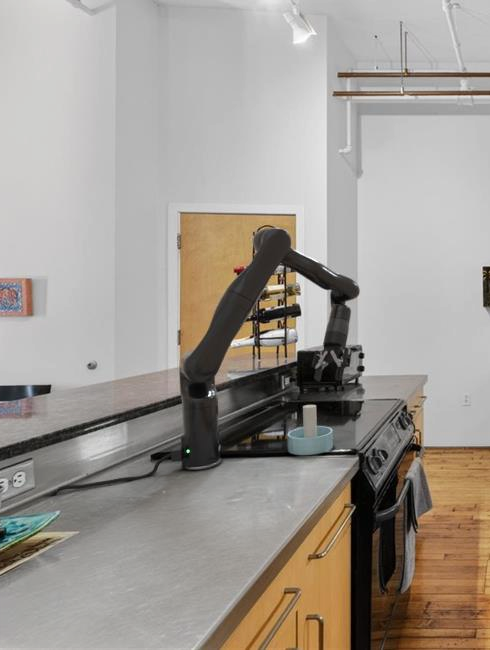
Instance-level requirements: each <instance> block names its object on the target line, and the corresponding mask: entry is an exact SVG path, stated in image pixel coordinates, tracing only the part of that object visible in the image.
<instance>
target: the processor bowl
mask: <svg viewBox="0 0 490 650" xmlns="http://www.w3.org/2000/svg"><path fill="white" fill-rule="evenodd" d="M333 431H334V429H333V428H331V427H330V426H329V427H328V426H323V425H317V437H314V438H304V427H298V428H295V429H292V430H290V431H289V432H287V435H286V439H287V452H288V453H289V454H292V455H294V456H295V455H296V456H313V455H319V454H323V453H326V452H328V451H330V450H332V449H333V447H334V432H333Z"/></svg>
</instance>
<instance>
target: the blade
mask: <svg viewBox="0 0 490 650" xmlns="http://www.w3.org/2000/svg"><path fill="white" fill-rule="evenodd" d="M317 421H318V420H317V405H316V404H306V405H303V406H302V423H303V425H302V426H303V427H304V438H314V437H317V426H318V423H317Z"/></svg>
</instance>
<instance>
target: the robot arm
mask: <svg viewBox="0 0 490 650" xmlns="http://www.w3.org/2000/svg"><path fill="white" fill-rule="evenodd" d="M252 246H253V248H254V251H256V254H255V256H254V257H253V259H252V260H251V262H250V263H249V264H248V266H246V267H245V269H243V271H241V272H240V273H239V274H238V275H237V276H236V277H235V278H234V279H233V280H232V281H231V283H230V284H229V285H228V286H227V288H226V289H225V291H224V292H223V294H222V296H221V297H220V299H219V301H218V303H217V305H216V307H215V309H214V311H213V315H212V317H211V321H210V323H209V326H208V329H207V331H206V332H205V334H204V336H203V337H202V339H201V340H200V342H199V343H198V344H197V346H196V347H195V348H194V349H191V350H188V351H187V352H185V354H183V356H182V357H181V358H180V361H179V366H178V367H179V368H178V369H179V371H178V372H179V374H178V375H179V388H180V389H179V391H180V400H181V407H182V411H181V413H182V432H183V433H182V434H181V435H180V444H177V445H176V446H175V447H174V448H172V450H170V453H169V454H166V455H164V456H162V457H161V458H160V459H158V460H157V461H156V463H155V464H154V466H153V469H152V470H151V471H149V472H148V473H145V474H141V475H137V476H124V477H117V478H113V479H107V480H101V481H95V482H90V483H84V484H67V485H62V486H59V487H58V488H59V489H57V488H56V489H57V491H54V490H53V491H52V492H51V493H50V494H49V497H53V496H56V495H57V494H58V493H60V492H62V491H64V490H82V489H86V488H93V487H98V486H105V485H111V484H115V483H120V482H122V483H123V482H128V481H137V480H142V479H145V478H149V477H151V476H153V475H154V474H156V472H157V471H158V468H159V466H160V465H161V464H162V463H163V462H164V461H166V460H168V459H170V460H171V462H172V463H173V462H181V470H183V471H184V470H187V471H201V470H206V469H210V468H213V467H216V466H218V465H220V463H221V452H220V451H221V447H222V446H221V443H220V425H219V424H220V421H219V394H218V391H217V387H216V376H217V374H218V372H219V370H220V368H221V366H222V363H223V361H224V359H225V357H226V355H227V353H228V350H229V348H230V346H231V344H232V342H233V341H234V339H235V338H236V336H237V335H238V334H239V332H240V330H241V329H242V327H243V326H244V325H245V323H246V321H247V320H248V318H249V316H250V315H251V313H252V311H253V310H254V308H255V307H256V305H257V303H258V301H259V299H260V297H261V296H262V294H263V292H264V290H265V289H266V287H267V285H268V284H269V282H270V279H271V278H272V276H273V275H274V273H275V272H276V270H277V269H278V268H279V266H281V265H283V266H285V267H286V268H288V269H290V270H292V271H294V272H296V273H297V274H298V275H300V276H301V277H303V278H305V279H306V280H308V281H309V282H311V283H313V284H314V285H315V286H317V287H319V288H320V289H323V290H325V291H330V292H329V299H330V300H329V301H330V312H329V319H328V321H327V324H326V329H325V333H324V337H323V342H322V345H323V349H322V350H321V351H319V350H317V349H316V350H315V351H314V354H313V357H312V358H313V359H312V362H311V368H312V369H315V371H314V375H313V378H314V381H316V382H321V380H322V375H323V370H324V369H325V368H326V367H327V366H328V365H329V364H331V365H332V364H336V366H337V367H336V370H335V376H334V378H335V380H336V381H341V380H342V378H343V376H344V371H345V369H346V368H350V366H351V360H352V353H353V351H352V350H351V349H350V348H348V347H346V346H347V343H348V337H349V331H350V322H351V317H352V309H351V307H350V306H348V305H346V304H347V302H349V301H352V300H355V299H356V298H358V297H359V296H360V293H361V290H360V286H359V284H358V283H357V282H356V281H355V280H354V279H353V278H350V277H348V276H346V275H343V274H341V273H337V272H336V271H334V270H332V269H330V268H329V267H328V266H326V265H324V264H323V263H321V262H320V261H318V260H316V259H314V258H311V257H309V256H307V255H305V254H303V253H301V252H299V251H298V250H296V249H294V248H293V247H292V237H291V235H290V233H289V232H288V231H287V230H286V229H284V228H282V227H281V228H280V227H267V228H262V229H260V230H258V231H257V232H255V234H254V235H253V238H252Z"/></svg>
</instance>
